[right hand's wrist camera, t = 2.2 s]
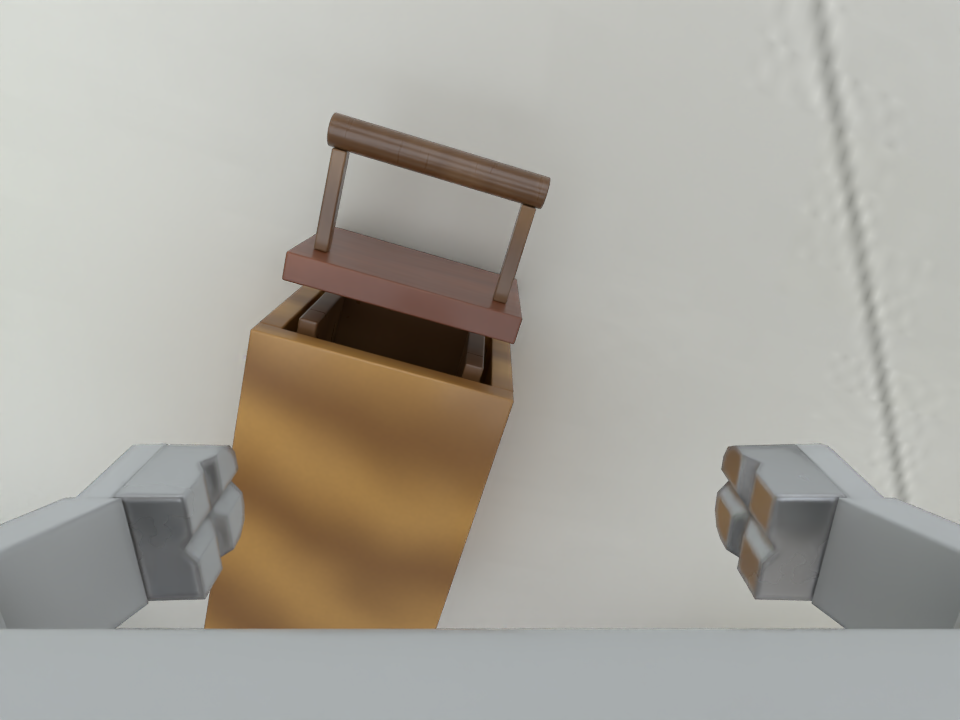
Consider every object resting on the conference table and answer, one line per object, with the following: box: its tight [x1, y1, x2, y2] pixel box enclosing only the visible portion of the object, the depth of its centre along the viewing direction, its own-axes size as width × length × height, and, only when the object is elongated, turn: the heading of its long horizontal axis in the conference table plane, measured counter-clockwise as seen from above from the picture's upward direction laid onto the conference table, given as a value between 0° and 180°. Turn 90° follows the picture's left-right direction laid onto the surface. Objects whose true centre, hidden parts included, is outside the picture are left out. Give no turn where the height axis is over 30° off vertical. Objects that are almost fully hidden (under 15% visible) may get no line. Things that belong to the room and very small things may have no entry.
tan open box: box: [204, 285, 513, 629], centre depth 32 cm, size 17×11×9 cm, turn 164°
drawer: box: [282, 113, 550, 382], centre depth 29 cm, size 21×10×7 cm, turn 164°
